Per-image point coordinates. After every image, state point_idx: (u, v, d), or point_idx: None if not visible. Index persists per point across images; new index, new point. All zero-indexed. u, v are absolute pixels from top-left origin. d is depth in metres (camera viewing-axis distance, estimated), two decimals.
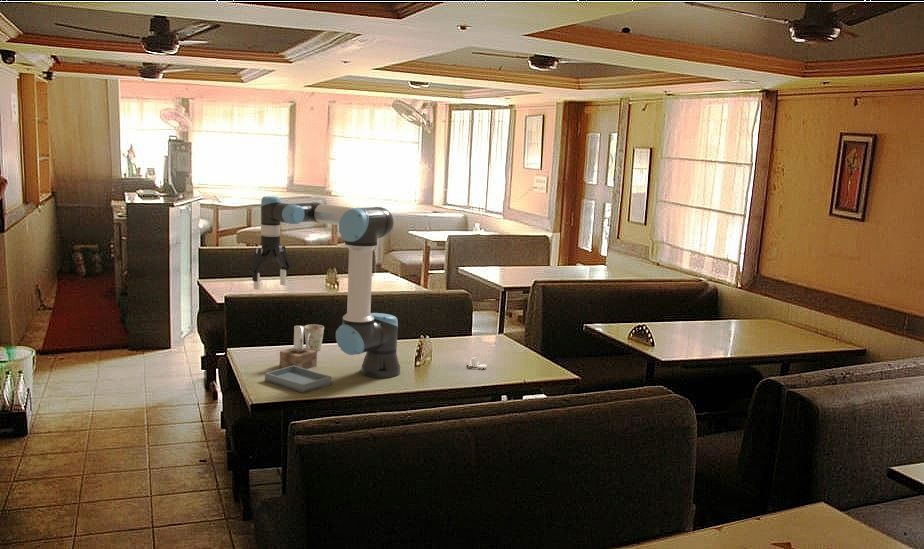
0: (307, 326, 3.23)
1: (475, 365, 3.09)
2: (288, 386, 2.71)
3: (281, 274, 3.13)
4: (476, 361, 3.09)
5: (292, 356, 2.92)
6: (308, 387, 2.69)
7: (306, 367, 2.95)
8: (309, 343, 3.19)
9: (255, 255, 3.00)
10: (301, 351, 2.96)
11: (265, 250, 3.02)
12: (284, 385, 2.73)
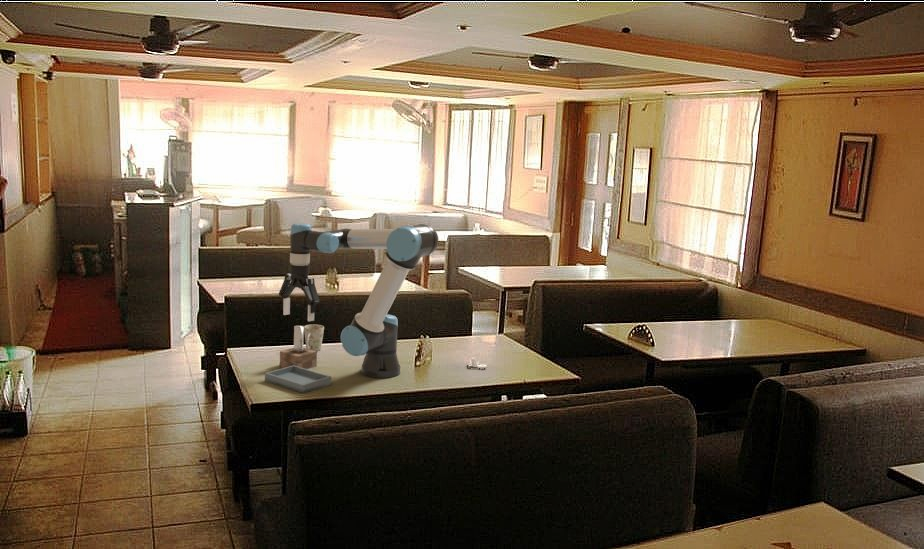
0: (307, 326, 3.23)
1: (475, 365, 3.09)
2: (288, 386, 2.71)
3: None
4: (476, 361, 3.09)
5: (292, 356, 2.92)
6: (308, 387, 2.69)
7: (306, 367, 2.95)
8: (309, 343, 3.19)
9: None
10: (301, 351, 2.96)
11: (291, 277, 2.93)
12: (284, 385, 2.73)
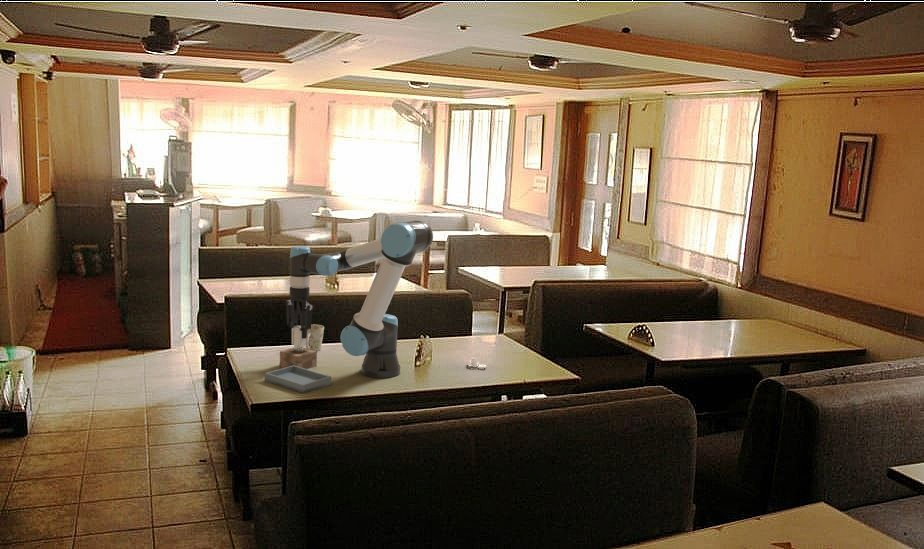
0: None
1: (475, 365, 3.09)
2: (288, 386, 2.71)
3: None
4: (476, 361, 3.08)
5: (292, 356, 2.92)
6: (308, 387, 2.69)
7: (306, 367, 2.95)
8: (309, 343, 3.19)
9: None
10: (301, 351, 2.96)
11: (291, 300, 2.95)
12: (284, 385, 2.73)
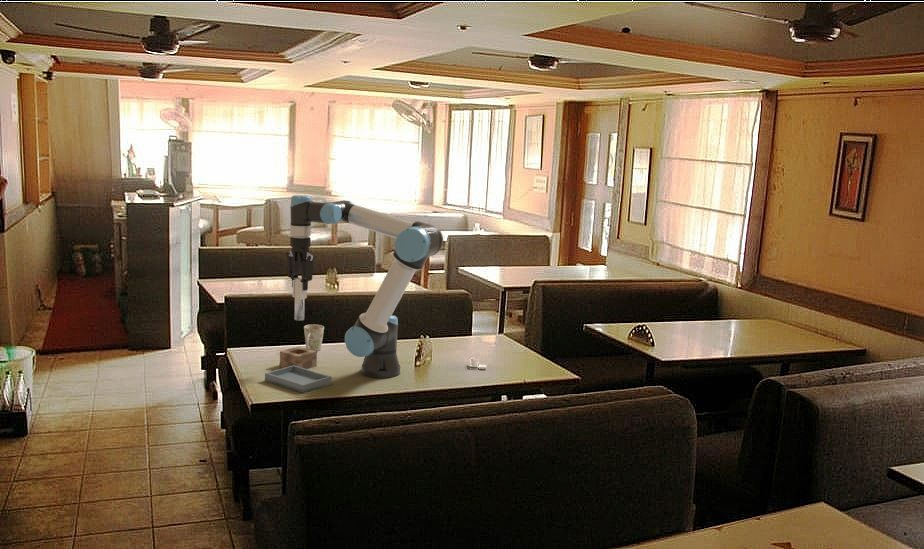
0: (307, 326, 3.23)
1: (475, 365, 3.09)
2: (288, 386, 2.71)
3: None
4: (476, 361, 3.08)
5: (292, 356, 2.92)
6: (308, 387, 2.69)
7: (306, 367, 2.95)
8: (309, 343, 3.19)
9: None
10: (302, 303, 2.89)
11: (292, 251, 2.88)
12: (284, 385, 2.73)
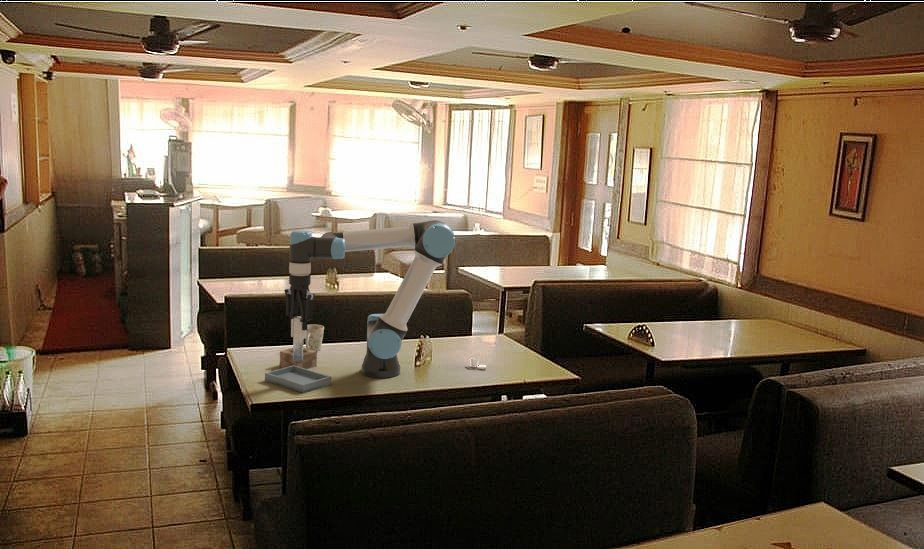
0: (307, 326, 3.23)
1: (475, 365, 3.08)
2: (288, 386, 2.71)
3: None
4: (476, 361, 3.08)
5: (292, 356, 2.92)
6: (308, 387, 2.69)
7: (306, 367, 2.95)
8: (309, 343, 3.19)
9: None
10: (301, 344, 2.75)
11: (290, 289, 2.74)
12: (284, 385, 2.73)
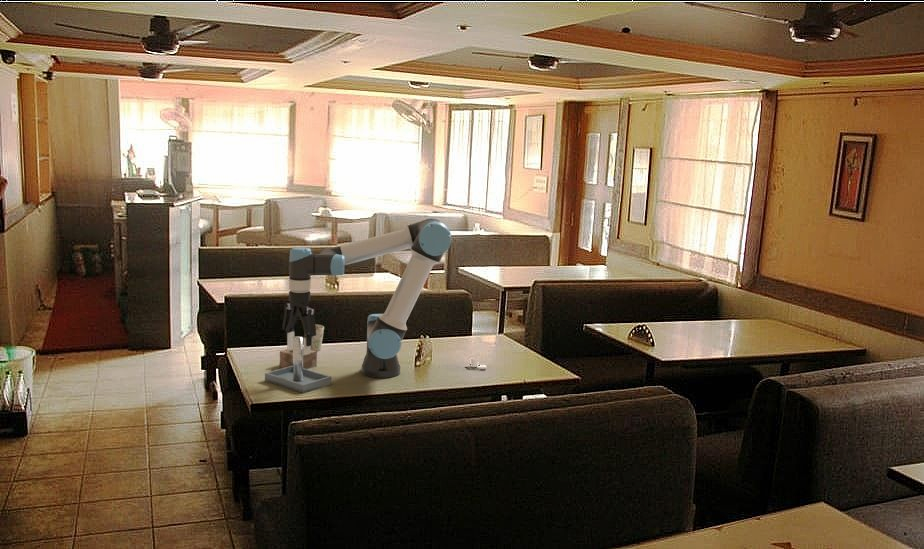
0: None
1: (475, 365, 3.08)
2: (288, 386, 2.71)
3: None
4: (476, 361, 3.08)
5: (292, 356, 2.92)
6: (308, 387, 2.69)
7: (306, 367, 2.95)
8: None
9: None
10: (301, 364, 2.76)
11: (290, 305, 2.75)
12: (284, 385, 2.73)
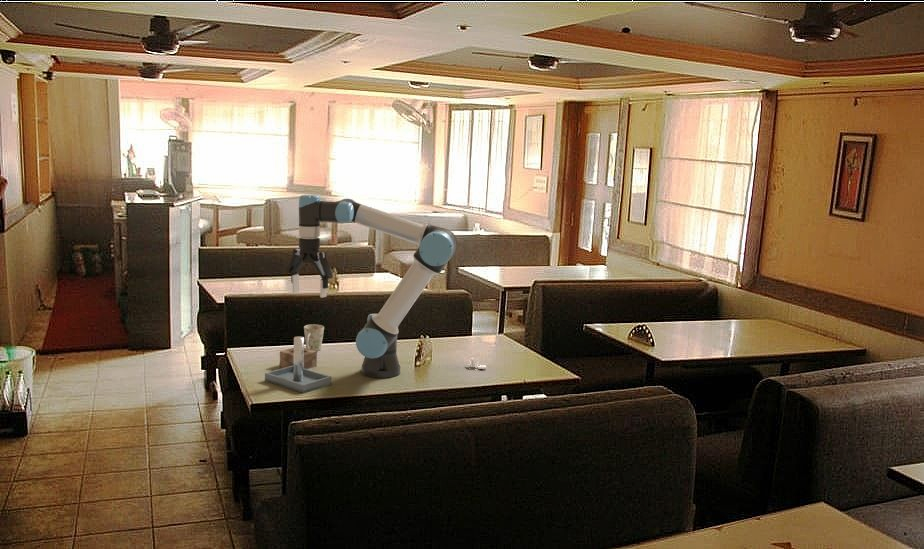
0: (307, 326, 3.23)
1: (475, 366, 3.08)
2: (288, 386, 2.71)
3: None
4: (476, 362, 3.08)
5: (292, 356, 2.92)
6: (308, 387, 2.69)
7: (306, 367, 2.95)
8: (309, 343, 3.19)
9: None
10: (301, 364, 2.76)
11: (300, 252, 2.79)
12: (284, 385, 2.73)
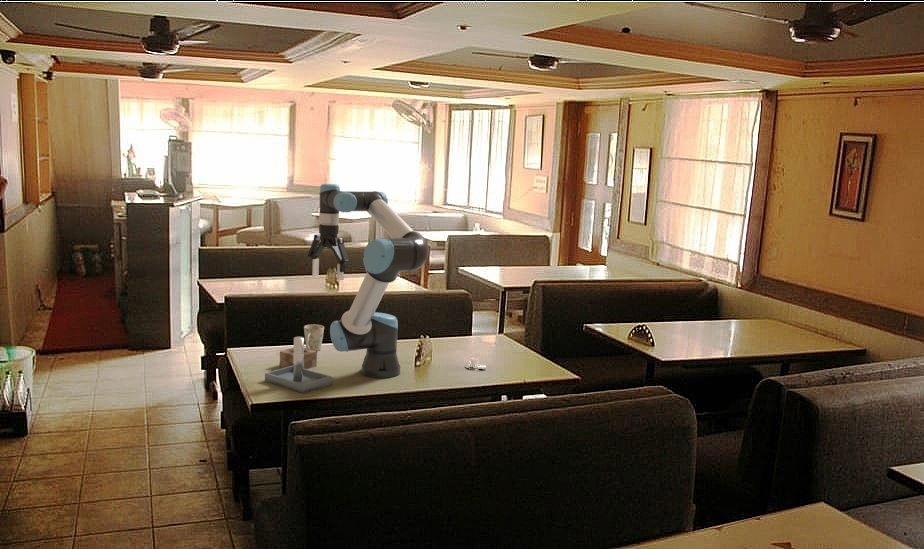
0: (307, 326, 3.23)
1: (475, 366, 3.08)
2: (288, 386, 2.71)
3: None
4: (476, 362, 3.08)
5: (292, 356, 2.92)
6: (308, 387, 2.69)
7: (306, 367, 2.95)
8: (309, 343, 3.19)
9: None
10: (301, 364, 2.76)
11: (320, 237, 2.98)
12: (284, 385, 2.73)
